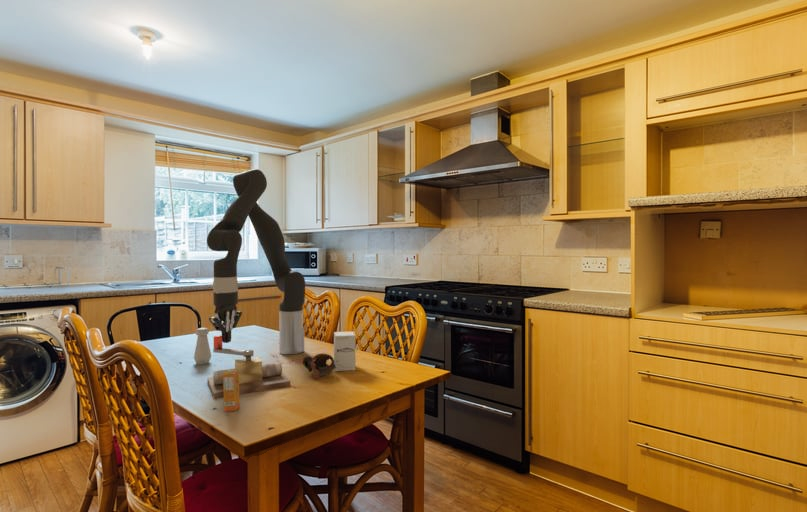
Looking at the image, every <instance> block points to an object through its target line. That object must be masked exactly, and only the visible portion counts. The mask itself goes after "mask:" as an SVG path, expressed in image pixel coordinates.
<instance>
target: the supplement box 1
mask: <svg viewBox="0 0 807 512" xmlns="http://www.w3.org/2000/svg"><path fill="white" fill-rule="evenodd" d="M223 392H224V397H223V411H224V412H236V411H238V408H240V405H241V403H240V400H241V399H240V394H239V376H238V371H227V372H226V373H225V374H224V375H223Z"/></svg>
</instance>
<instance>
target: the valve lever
mask: <svg viewBox="0 0 807 512" xmlns="http://www.w3.org/2000/svg"><path fill="white" fill-rule="evenodd" d="M212 351H213V353H214V354H215V353H216V354H226V355H234V356H243V357H244V358H246V357H251V358H253V356H254V353H255V352H254V349H245V350H243V349H232V348H224V347H223V341H222V335H214V336H213V350H212Z"/></svg>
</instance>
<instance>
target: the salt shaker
mask: <svg viewBox="0 0 807 512" xmlns="http://www.w3.org/2000/svg"><path fill="white" fill-rule="evenodd" d="M209 331H210V330H209V328H207V327H199V328H197V329H196V331H195V335H196V336H197V340H196V344H195V349H194V356H193V359H194V361H195V363H196V365H198V364H203V365H207V364H209V363H210V360H211V359H212V353H211V348H210V343H209V338H208V335H209Z"/></svg>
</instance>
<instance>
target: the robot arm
mask: <svg viewBox="0 0 807 512" xmlns="http://www.w3.org/2000/svg"><path fill="white" fill-rule="evenodd" d="M267 181H268V180H267V177H266V175H265V174H264V172H263V171H261V170H260V169H257V168H253V169H249V170H246V171H243V172H240V173H236V174H235V175H234V176H233V178H232V185H233V188H234V190H235V192H236V194H237V198H236V199H235V200H233V202H231V203H230V205H229V206H228V207H227V209H226V211H225V213H224V215H223V217H222V219H221V220H220V221H218V222H217V224H215V225H214V226H213V227H212V229H211V230H210V231H209V232H208V234H207V237H206V244H207V246H208V248H209V249H210V250H211V251H214V252H227V253H226V256H225V257H221V258H217V259H215V260H214V261H213V281H212V289H213V290H212V292H213V293H212V294H213V295H212V296H213V297H212V298H213V299H212V300H213V305H214V306H215V309H214V314H213V315H212V316H210V317H208V320H209V322H210V323H211V324H212V326H213V327H214V329H215V330H216V331H219V332H221V336H222V344H223V343H224V344H229V343H231V341H232V331H233V329H236V327H237V325H238V324H239V321H240V319H241V317H242V314H243V311H239V310H238V307H237V305H238V304H239V283H238V269H237V268H238V266H237V265H238V260H239V256H240V252H241V248H242V244H243V238H242V234H241V233H240V232H241V231H242V230H243V228H244V226H245V223H246V220H247V219H248V218H249V220H250V222H251V224H252V226H253V229H254V231H255V234H256V236H257V239H258V241H259V243H260V246H261V247H262V248H261V249H262V250H263V252H264V255H265V257H266V259H267V261H268V263H269V266H270V269H271V272H272V275H273V278H274V282H275V286H276V287H277V288H278V290H279V291H280V292H281V293H283V301H282V302H280V303H279V305H278V306H279V308H278V309H279V310H278V311H279V314H278V316H279V317H278V318H279V322H278V323H279V325H278V326H279V330H278V331H279V337H278V338H279V346H278V347H279V353H280V354H281V355H299V354H301V353H304V352H305V328H304V326H303V321H304V320H303V319H304V318H303V316H304V315H303V313H304V311H303V310H304V304H305V301H306V300H305V298H306V281H305V277H304V275H303V274H302V272H299V271H295V270H292V269H291V267H290V265H289V263H288V261H287V257H286V243H285V242H286V241H285V237H284V234H283V232H282V229H281V227H280V225H279V223H278V222H277V220H276V219H274V217H272V216H271V215H270V214H269V213H267V212H266V211H265V210H264V209H263V208H262V207H261V206H260V205H259V204H258V201H259V199H260V198H261V196H262V195H263V194H264V193H265V192H266V190H267V185H268V182H267Z"/></svg>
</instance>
